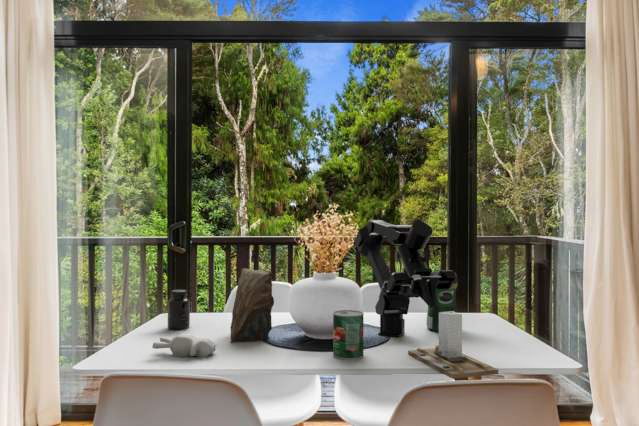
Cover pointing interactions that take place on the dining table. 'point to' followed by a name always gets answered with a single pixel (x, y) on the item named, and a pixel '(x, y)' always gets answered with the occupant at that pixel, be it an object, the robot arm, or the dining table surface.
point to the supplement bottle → (178, 310)
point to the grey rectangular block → (450, 337)
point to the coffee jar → (441, 304)
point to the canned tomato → (348, 334)
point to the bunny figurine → (187, 345)
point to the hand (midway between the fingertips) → (433, 307)
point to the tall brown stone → (252, 307)
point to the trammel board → (452, 364)
